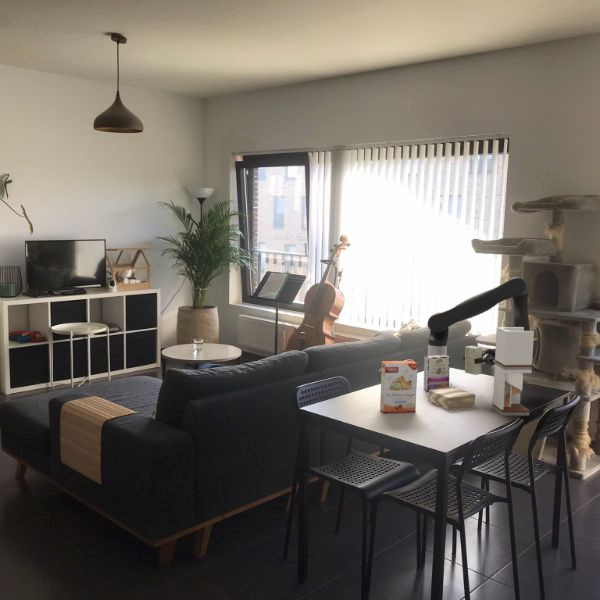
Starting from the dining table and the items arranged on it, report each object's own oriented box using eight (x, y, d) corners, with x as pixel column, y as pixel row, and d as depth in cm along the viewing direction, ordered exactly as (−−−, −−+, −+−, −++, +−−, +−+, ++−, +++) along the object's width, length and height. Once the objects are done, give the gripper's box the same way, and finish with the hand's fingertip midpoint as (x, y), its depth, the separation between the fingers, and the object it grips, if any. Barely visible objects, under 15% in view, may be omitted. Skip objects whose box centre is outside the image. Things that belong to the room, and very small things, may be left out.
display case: (502, 415, 262) (506, 331, 257) (492, 408, 272) (496, 327, 268) (529, 415, 262) (533, 331, 258) (518, 407, 273) (523, 327, 269)
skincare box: (481, 374, 286) (482, 347, 284) (475, 375, 283) (476, 348, 282) (470, 371, 291) (471, 345, 290) (463, 372, 289) (464, 346, 287)
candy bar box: (444, 388, 305) (445, 354, 303) (449, 390, 300) (450, 356, 298) (422, 389, 302) (423, 355, 300) (427, 392, 297) (428, 357, 295)
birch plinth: (428, 401, 282) (428, 390, 281) (453, 397, 288) (454, 386, 287) (448, 409, 269) (449, 397, 269) (474, 405, 275) (475, 394, 275)
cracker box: (383, 413, 262) (385, 363, 260) (379, 409, 268) (380, 360, 266) (416, 412, 265) (418, 363, 262) (411, 408, 270) (413, 360, 268)
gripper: (487, 345, 299) (459, 348, 291) (509, 351, 286) (480, 354, 279) (486, 361, 300) (458, 364, 292) (508, 367, 287) (480, 371, 279)
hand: (469, 359), depth 285 cm, fingers closed on skincare box, 6 cm apart
